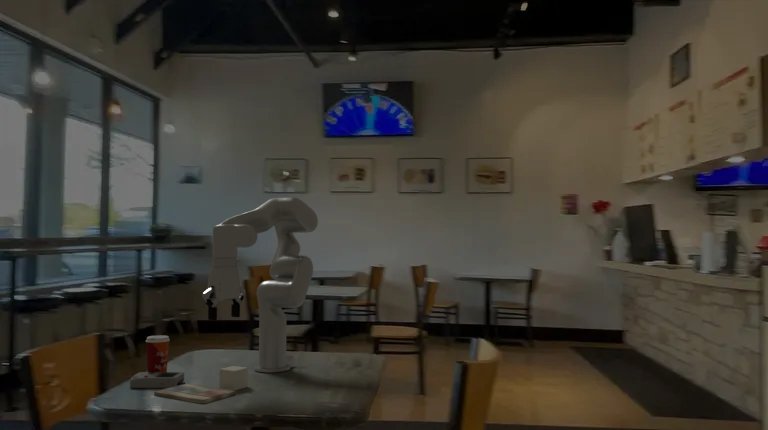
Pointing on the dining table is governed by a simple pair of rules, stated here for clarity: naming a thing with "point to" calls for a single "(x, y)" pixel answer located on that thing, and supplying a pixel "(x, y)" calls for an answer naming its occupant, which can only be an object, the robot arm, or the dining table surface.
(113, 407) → the dining table surface
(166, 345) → the paper cup
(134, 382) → the handheld gaming device
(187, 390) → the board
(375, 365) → the dining table surface
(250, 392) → the dining table surface
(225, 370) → the cream cube
